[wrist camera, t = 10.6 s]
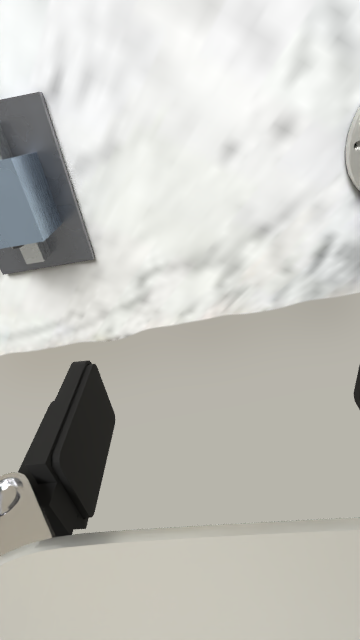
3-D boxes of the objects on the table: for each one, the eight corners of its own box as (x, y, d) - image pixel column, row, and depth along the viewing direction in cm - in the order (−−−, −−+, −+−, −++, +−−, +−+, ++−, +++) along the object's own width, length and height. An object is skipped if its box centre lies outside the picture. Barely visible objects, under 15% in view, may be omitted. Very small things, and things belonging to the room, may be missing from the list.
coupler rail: (42, 92, 29) (29, 89, 26) (94, 256, 37) (89, 267, 35) (-71, 115, 30) (-95, 114, 27) (5, 271, 38) (-7, 283, 35)
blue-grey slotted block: (36, 152, 31) (10, 158, 26) (63, 227, 35) (45, 245, 30) (-26, 163, 31) (-64, 171, 26) (7, 236, 35) (-20, 256, 30)
